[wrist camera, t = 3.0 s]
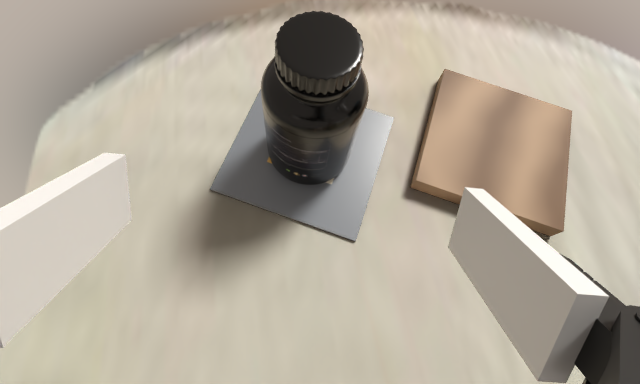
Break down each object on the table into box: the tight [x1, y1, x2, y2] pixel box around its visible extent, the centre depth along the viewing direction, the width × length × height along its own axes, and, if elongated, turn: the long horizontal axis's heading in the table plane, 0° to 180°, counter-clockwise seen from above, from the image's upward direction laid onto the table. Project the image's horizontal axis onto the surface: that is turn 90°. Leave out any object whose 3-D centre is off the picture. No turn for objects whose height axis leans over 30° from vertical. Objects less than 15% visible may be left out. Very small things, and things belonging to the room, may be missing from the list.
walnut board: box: [410, 69, 572, 236], centre depth 32 cm, size 12×12×2 cm
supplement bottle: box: [261, 11, 369, 185], centre depth 25 cm, size 7×7×12 cm
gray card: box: [210, 90, 394, 241], centre depth 30 cm, size 12×12×1 cm
